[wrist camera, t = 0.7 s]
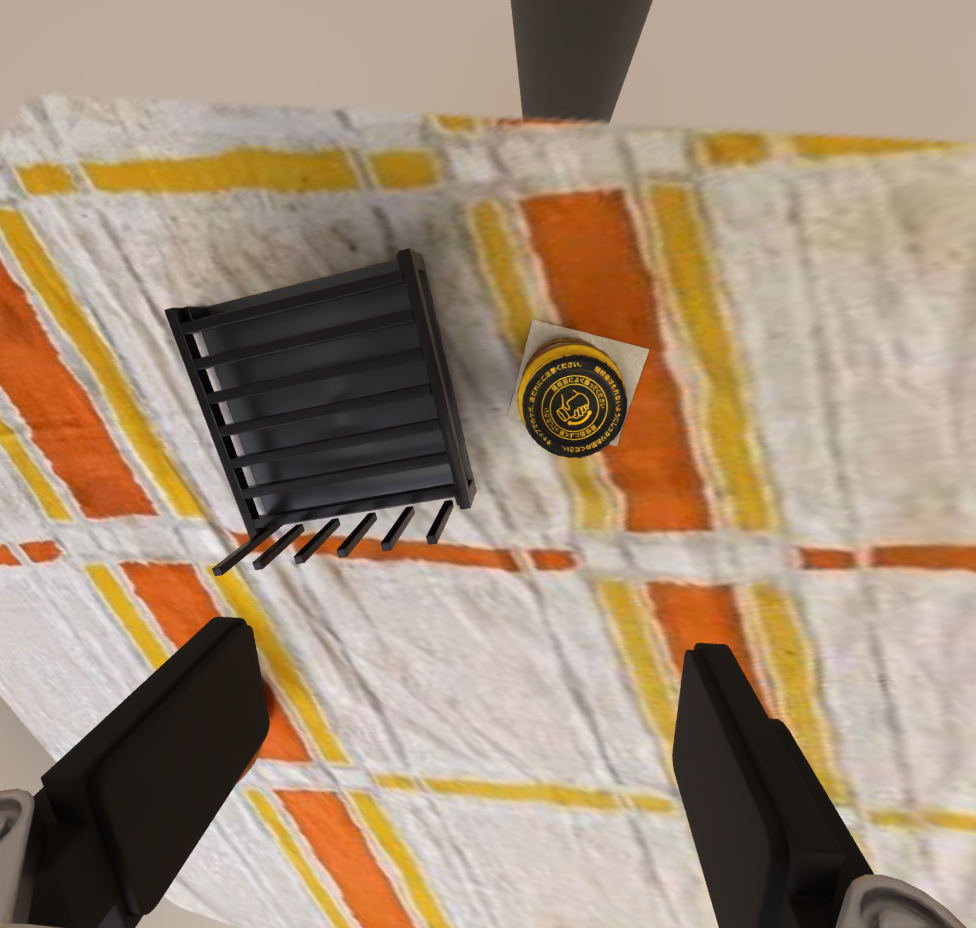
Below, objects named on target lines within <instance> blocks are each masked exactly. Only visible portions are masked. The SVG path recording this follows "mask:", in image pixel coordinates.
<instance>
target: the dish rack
mask: <svg viewBox="0 0 976 928" xmlns="http://www.w3.org/2000/svg"><path fill="white" fill-rule="evenodd" d="M396 256H397V260H393V261H389V262H385V263H381V264H377V265H373V266H369V267H365V268H361V269H357V270H353V271H349V272H345V273H341V274H336V275H332V276H328V277H324V278H320V279H316V280H312V281H308V282H304V283H300V284H296V285H292V286H288V287H284V288H280V289H276V290H272V291H268V292H264V293H260V294H256V295H252V296H248V297H244V298H240V299H236V300H232V301H228V302H224V303H220V304H216V305H212V306H208V307H183V308H170V309H166V310H165V314H166V316H167V319H168V322H169V324H170V327H171V330H172V332H173V335H174V338H175V340H176V343H177V346H178V348H179V351H180V354H181V356H182V359H183V362H184V364H185V367H186V369H187V372H188V375H189V377H190V380H191V383H192V385H193V388H194V391H195V393H196V396H197V399H198V401H199V404H200V407H201V409H202V412H203V415H204V417H205V420H206V423H207V425H208V428H209V431H210V433H211V436H212V439H213V441H214V444H215V447H216V449H217V452H218V455H219V457H220V460H221V463H222V465H223V468H224V471H225V473H226V476H227V479H228V481H229V484H230V487H231V489H232V492H233V495H234V497H235V500H236V503H237V505H238V508H239V511H240V513H241V516H242V518H243V521H244V524H245V526H246V529H247V532H248V534H249V537H250V540H248V541H247V542H246V543H244V544H243V545H242V546H241V547H239V548H238V549H237V550H235V551H234V552H233V553H232V554H230V555H229V556H228V557H226V558H225V559H224V560H223V561H221V562H220V563H219V564H217V565H216V566H215V567H213V568H212V570H213V572H214V575H215V576H220V575H223V574H224V573H226V572H227V571H228V570H229V569H231V568H232V567H233V566H234V565H235V564H237V563H238V562H239V561H240V560H241V559H243V558H244V557H245V556H246V555H248V554H249V553H250V552H251V551H252V550H254V549H255V548H256V547H257V546H259V545H260V544H261V543H262V542H263V541H265V540H266V539H267V538H268V537H269V536H270V535H272V534H273V533H274V532H275V531H277V530H278V529H279V528H280V527H281V526H283V525H285V524H291V523H298V522H304V521H310V520H316V519H322V518H328V517H335V516H341V515H347V514H353V513H359V512H365V511H372V510H378V509H384V508H390V507H396V506H403V505H409V504H415V503H421V502H427V501H433V500H440V499H446V498H452V497H455V499H456V503H457V505H459V506H460V509H467V508H471V505H472V502H473V499H474V496H475V494H476V488H475V483H474V479H473V475H472V470H471V466H470V462H469V457H468V453H467V448H466V444H465V440H464V435H463V431H462V427H461V422H460V418H459V414H458V409H457V405H456V401H455V396H454V392H453V387H452V383H451V379H450V374H449V370H448V366H447V361H446V357H445V353H444V348H443V344H442V340H441V335H440V331H439V326H438V322H437V318H436V313H435V309H434V305H433V300H432V296H431V292H430V287H429V283H428V279H427V274H426V270H425V265H424V261H423V257H422V254H419V253H417V252H415V251H413V250H411V249H409V248H408V249H404V250H400V251H398V254H397V255H396ZM200 332H201V333H202V335H203V338H204V341H205V344H206V347H207V349H208V352H209V355H210V356H206V357H202V358H201V355H200V352H199V350H198V347H197V344H196V341H195V339H194V336H193V334H196V333H200ZM212 367H214V369H215V372H216V374H217V377H218V380H219V383H220V385H221V388H222V390H220V391H216V392H214V391H213V388H212V385H211V382H210V380H209V377H208V374H207V372H206V369H208V368H212ZM224 401H226V402H227V405H228V408H229V410H230V413H231V416H232V419H233V422H234V423H231V424H225V421H224V418H223V415H222V413H221V410H220V407H219V404H218V403H220V402H224ZM236 434H238V435H239V438H240V441H241V444H242V447H243V449H244V452H245V455H240V456H237V454H236V451H235V448H234V445H233V443H232V440H231V437H230V436H231V435H236ZM246 466H250V469H251V472H252V474H253V477H254V480H255V483H256V485H252V486H248V484H247V481H246V478H245V476H244V473H243V470H242V467H246ZM255 497H261V499H262V502H263V505H264V508H265V510H266V513H267V514H265V515H259V514H258V511H257V509H256V506H255V503H254V500H253V498H255ZM453 507H454V506H453V502H452V500H448V501H444V503H443V505H442V507H441V509H440V511H439V513H438V515H437V517H436V519H435V521H434V523H433V524H432V526H431V528H430V530H429V532H428V534H427V536H426V538H427V542H428V544H429V545H430V544H436V543H437V542H438V540H439V538H440V536H441V533H442V531H443V529H444V527H445V525H446V522H447V520H448V518H449V516H450V514H451V512H452V509H453ZM414 514H415V511H414V508H413V506H411V507H406V508H405V509H404V511H403V512H402V514H401V515H400V517H399V518H398V519H397V521H396V522H395V524H394V525H393V527H392V528H391V529H390V531H389V532H388V534H387V535H386V537H385V538H384V539H383V541H382V542H381V546H382V550H383V551H389V550H392V548H393V547H394V545H395V544H396V542H397V540H398V539H399V537H400V536H401V534H402V533H403V531H404V529H405V528H406V526H407V525H408V523H409V522H410V520H411V518H412V517H413V515H414ZM376 520H377V517H376V513H375V512H374V513H368V514H367V516H366V517H365V518H364V519H363V520H362V521H361V522H360V524H359V525H358V526H357V527H356V528H355V529H354V531H353V532H352V533H351V534H350V535H349V536H348V537H347V539H346V540H345V541H344V542H343V543H342V544H341V546H340V547H339V548H338V549H337V553H338V556H339V558H341V557H347V556H348V555H349V554H350V552H351V551H352V550H353V549H354V547H355V546H356V545H357V544H358V542H359V541H360V540H361V539H362V537H363V536H364V535H365V534H366V532H367V531H368V530H369V529H370V527H371V526H372V525H373V524H374V522H375V521H376ZM339 526H340V522H339V519H338V518H337V519H332V520H330V521H329V522H328V523H327V524H326V525H325V526H324V527H323V528H322V529H321V530H320V531H319V532H318V533H317V534H316V535H315V536H314V537H313V538H312V539H311V540H310V541H309V542H308V543H307V544H306V545H305V546H304V547H303V548H302V549H301V550H300V551H299V552H298V553H297V554H296V555H295V556H294V558H295V561H296V564H300V563H305V562H306V561H307V560H308V559H309V557H310V556H311V555H312V554H313V553H314V552H315V551H316V550H317V549H318V548H319V547H320V546H321V545H322V544H323V543H324V542H325V541H326V540H327V539H328V537H329V536H330V535H331V534H332V533H333V532H334V531H335V530H336V529H337V528H338V527H339ZM304 531H305V530H304V527H303V524H299V525H295V526H294V527H293V528H292V529H291V530H290V531H289V532H287V533H286V534H285V535H284V536H283V537H282V538H280V539H279V540H278V541H277V542H276V543H275V544H273V545H272V546H271V547H270V548H269V549H268V550H266V551H265V552H264V553H263V554H262V555H261V556H260V557H258V558H257V559H256V560H255V561H254V562H253V566H254V568H255V570H260V569H263V568H264V567H266V566H267V565H268V564H269V563H270V562H271V561H272V560H273V559H274V558H275V557H276V556H278V555H279V554H280V553H281V552H282V551H283V550H284V549H285V548H286V547H287V546H288V545H289V544H291V543H292V542H293V541H294V540H295V539H296V538H297V537H298V536H299V535H300V534H301V533H303V532H304Z"/></svg>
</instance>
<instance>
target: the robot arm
mask: <svg viewBox="0 0 976 928" xmlns="http://www.w3.org/2000/svg"><path fill="white" fill-rule="evenodd" d="M269 724H270V722H269V715H268V710H267V704H266V699H265V693H264V688H263V682H262V677H261V671H260V666H259V661H258V655H257V650H256V644H255V639H254V633H253V629H252V627H251V626H249V625H247V623H246V621H245V620H244V619H242V618H232V617H215V618H213V619H212V620H210V621H209V622H208V623H207V624H206V625H205V626H204V627H203V628H202V629H201V630H200V631H199V632H197V633H196V634H195V635H194V636H193V637H192V638H191V639H190V640H189V641H188V642H187V643H186V644H185V645H183V646H182V647H181V648H180V649H179V650H178V651H177V652H176V653H175V654H174V655H173V656H172V657H170V658H169V659H168V660H167V661H166V662H165V663H164V664H163V665H162V666H161V667H160V668H159V669H158V670H156V671H155V672H154V673H153V674H152V675H151V676H150V677H149V678H148V679H147V680H146V681H145V682H143V683H142V684H141V685H140V686H139V687H138V688H137V689H136V690H135V691H134V692H133V693H132V694H131V695H129V696H128V697H127V698H126V699H125V700H124V701H123V702H122V703H121V704H120V705H119V706H118V707H116V708H115V709H114V710H113V711H112V712H111V713H110V714H109V715H108V716H107V717H106V718H105V719H104V720H102V721H101V722H100V723H99V724H98V725H97V726H96V727H95V728H94V729H93V730H92V731H91V732H89V733H88V734H87V735H86V736H85V737H84V738H83V739H82V740H81V741H80V742H79V743H78V744H77V745H75V746H74V747H73V748H72V749H71V750H70V751H69V752H68V753H67V754H66V755H65V756H64V757H62V758H61V759H60V760H59V761H58V762H57V763H56V764H55V765H54V766H53V767H52V768H51V769H50V770H48V771H47V772H46V773H45V774H44V775H43V776H42V777H41V780H42V783H43V786H44V787H43V788H42V789H41V790H40V791H39V792H38V793H37V794H36V795H35V796H34V797H33V796H32V795H31V794H30V793H29V792H28V791H24V790H19V789H13V790H4V791H0V928H135V927H136V926H137V924H138V923H139V921H140V920H141V918H142V917H143V915H147V914H149V913H150V912H151V911H152V910H153V909H154V908H155V907H156V906H157V904H158V903H159V902H160V900H161V898H162V897H163V895H164V894H165V892H166V891H167V889H168V888H169V886H170V885H171V883H172V882H173V880H174V879H175V877H176V875H177V874H178V872H179V871H180V869H181V868H182V866H183V865H184V863H185V862H186V860H187V859H188V857H189V855H190V854H191V852H192V851H193V849H194V848H195V846H196V845H197V843H198V842H199V840H200V839H201V837H202V835H203V834H204V832H205V831H206V829H207V828H208V826H209V825H210V823H211V822H212V820H213V819H214V817H215V815H216V814H217V812H218V811H219V809H220V808H221V806H222V805H223V803H224V802H225V800H226V799H227V797H228V796H229V794H230V792H231V791H232V789H233V788H234V786H235V785H236V783H237V782H238V780H239V779H240V777H241V776H242V774H243V772H244V771H245V769H246V768H247V766H248V765H249V763H250V762H251V760H252V759H253V757H254V756H255V754H256V752H257V751H258V749H259V748H260V746H261V745H262V743H263V742H264V740H265V738H266V736H267V734H268V730H269ZM672 757H673V768H674V773H675V776H676V780H677V783H678V787H679V790H680V794H681V797H682V801H683V804H684V808H685V811H686V815H687V818H688V822H689V825H690V829H691V832H692V836H693V839H694V843H695V846H696V850H697V853H698V856H699V860H700V863H701V867H702V870H703V874H704V877H705V881H706V884H707V888H708V891H709V895H710V898H711V902H712V905H713V909H714V912H715V916H716V919H717V923H718V926H719V928H966V927H965V926H964V925H963V924H962V923H961V922H960V921H959V920H958V919H957V918H956V917H955V916H954V915H953V914H952V913H951V912H950V911H949V910H948V909H947V908H945V907H944V906H943V905H941V904H940V903H939V902H937V901H936V900H934V899H933V898H932V897H930V896H929V895H928V894H926V893H925V892H923V891H921V890H919V889H917V888H916V887H914V886H912V885H910V884H908V883H906V882H904V881H902V880H898V879H895V878H892V877H888V876H885V875H874V873H873V871H872V870H871V868H870V866H869V865H868V863H867V861H866V860H865V858H864V856H863V854H862V853H861V851H860V849H859V848H858V846H857V844H856V843H855V841H854V839H853V838H852V836H851V834H850V832H849V831H848V829H847V827H846V826H845V824H844V822H843V821H842V819H841V817H840V816H839V814H838V812H837V810H836V809H835V807H834V805H833V804H832V802H831V800H830V799H829V797H828V795H827V794H826V792H825V790H824V789H823V787H822V785H821V783H820V782H819V780H818V778H817V777H816V775H815V773H814V772H813V770H812V768H811V767H810V765H809V763H808V761H807V760H806V758H805V756H804V755H803V753H802V751H801V750H800V748H799V746H798V745H797V743H796V741H795V739H794V738H793V736H792V734H791V733H790V731H789V730H788V728H787V727H786V725H785V724H784V723H783V722H782V721H780V720H779V719H769V718H768V716H767V714H766V712H765V710H764V709H763V707H762V705H761V703H760V701H759V700H758V698H757V696H756V694H755V692H754V691H753V689H752V687H751V685H750V684H749V682H748V680H747V678H746V676H745V675H744V673H743V671H742V669H741V667H740V666H739V664H738V662H737V660H736V658H735V657H734V655H733V653H732V651H731V650H730V648H729V647H728V646H727V645H725V644H708V643H697V644H696V645H695V647H694V650H686V652H685V656H684V664H683V672H682V680H681V688H680V696H679V704H678V712H677V720H676V728H675V736H674V744H673V754H672Z"/></svg>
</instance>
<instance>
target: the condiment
mask: <svg viewBox="0 0 976 928" xmlns="http://www.w3.org/2000/svg"><path fill="white" fill-rule="evenodd" d="M648 352H649V349H647V348H643V347H639V346H635V345H631V344H627V343H623V342H619V341H615V340H612V339H608V338H604V337H600V336H596V335H592V334H588V333H584V332H580V331H577V330H573V329H569V328H565V327H561V326H557V325H553V324H549V323H545V322H541V321H537V320H532V324H531V328H530V332H529V335H528V339H527V343H526V347H525V351H524V355H523V358H522V362H521V366H520V370H519V374H518V378H517V382H516V386H515V389H514V393H513V398H512V401H511V405H510V409H509V412H508V416H507V417H508V418H511V419H515V420H519V421H523V423H524V425H525V426H526V428H527V430H528V432H529V434H530V435H531V436H532V438H533V439H534V440H535V441H536V442H537V444H539V445H540V446H541V447H542V448H544V449H546V450H547V451H549V452H551V453H553V454H556V455H558V456H565V457H568V458H571V457H573V458H574V457H577V458H582V457H585V456H589V455H592V454H594V453H595V452H598V451H600V450H602V449H603V448H604V447H607V446H608V445H613V446H617V444H618V441H619V438H620V435H621V432H622V429H623V426H624V423H625V420H626V416H627V414H628V410H629V407H630V404H631V402H632V399H633V396H634V392H635V389H636V387H637V384H638V381H639V378H640V375H641V372H642V369H643V366H644V364H645V361H646V358H647V355H648Z"/></svg>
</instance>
